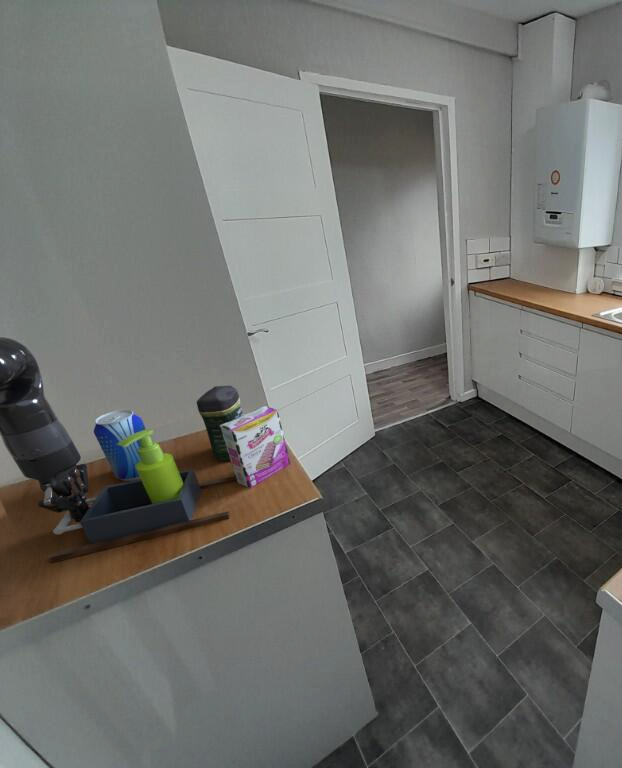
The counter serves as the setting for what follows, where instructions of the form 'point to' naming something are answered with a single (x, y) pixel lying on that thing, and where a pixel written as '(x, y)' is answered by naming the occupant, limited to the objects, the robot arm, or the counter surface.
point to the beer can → (111, 433)
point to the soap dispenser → (155, 468)
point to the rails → (149, 533)
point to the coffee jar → (219, 416)
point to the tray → (133, 510)
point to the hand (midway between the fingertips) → (84, 519)
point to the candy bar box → (256, 446)
